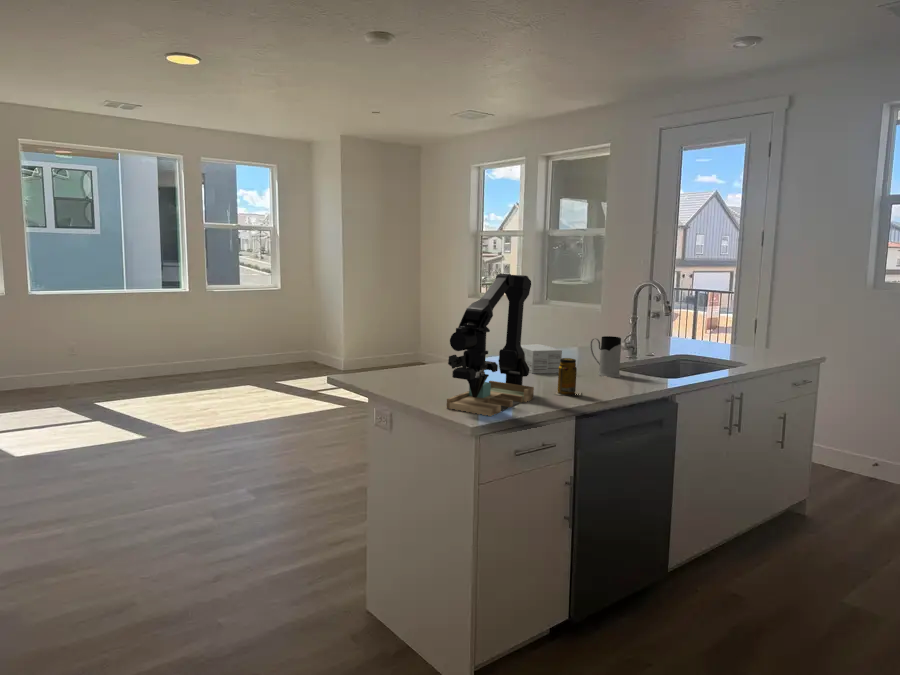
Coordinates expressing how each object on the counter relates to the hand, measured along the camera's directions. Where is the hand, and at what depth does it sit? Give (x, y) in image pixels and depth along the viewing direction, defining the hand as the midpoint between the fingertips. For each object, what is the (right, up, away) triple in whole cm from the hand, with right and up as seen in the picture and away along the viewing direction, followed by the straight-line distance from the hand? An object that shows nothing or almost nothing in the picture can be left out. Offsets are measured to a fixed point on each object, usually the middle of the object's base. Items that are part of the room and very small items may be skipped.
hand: (474, 397), depth 198 cm
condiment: (+33, -1, +20) cm, 38 cm away
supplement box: (+28, +5, +64) cm, 70 cm away
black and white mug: (+54, +4, +58) cm, 79 cm away
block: (+2, 0, +4) cm, 5 cm away
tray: (+5, -2, +3) cm, 6 cm away
